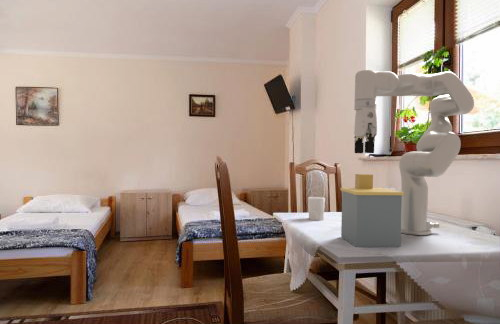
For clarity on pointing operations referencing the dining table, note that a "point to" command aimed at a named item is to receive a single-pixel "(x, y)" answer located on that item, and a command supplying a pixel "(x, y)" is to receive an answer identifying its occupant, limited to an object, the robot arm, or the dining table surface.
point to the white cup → (316, 208)
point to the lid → (368, 187)
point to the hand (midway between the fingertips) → (363, 153)
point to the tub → (371, 220)
